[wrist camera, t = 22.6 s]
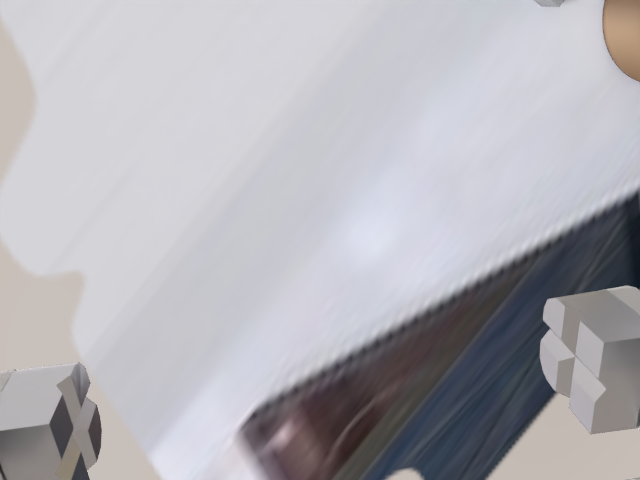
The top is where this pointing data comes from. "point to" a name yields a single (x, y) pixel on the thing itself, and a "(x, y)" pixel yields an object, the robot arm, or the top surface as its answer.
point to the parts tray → (550, 3)
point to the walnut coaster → (623, 34)
